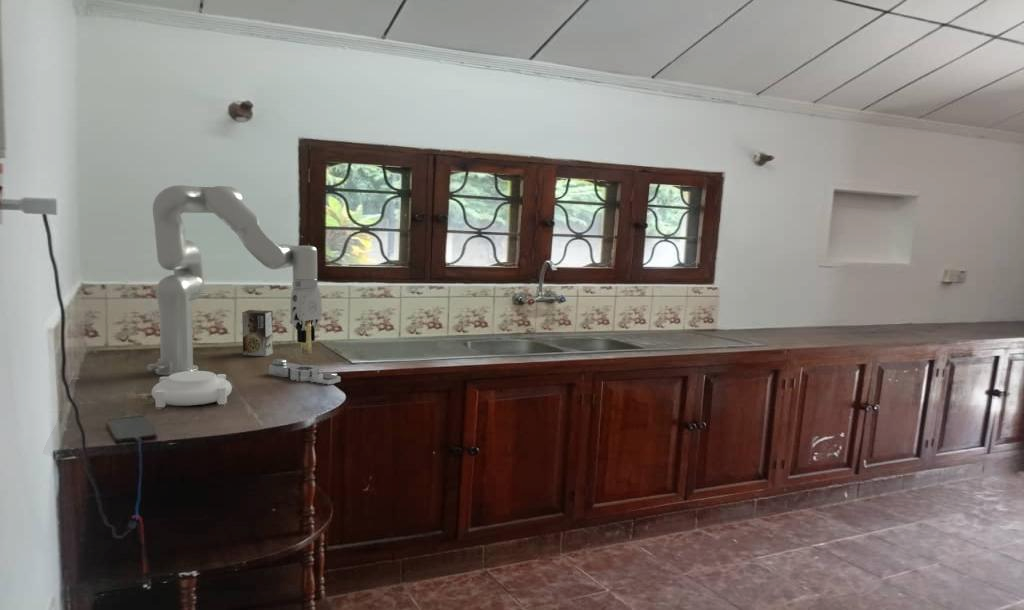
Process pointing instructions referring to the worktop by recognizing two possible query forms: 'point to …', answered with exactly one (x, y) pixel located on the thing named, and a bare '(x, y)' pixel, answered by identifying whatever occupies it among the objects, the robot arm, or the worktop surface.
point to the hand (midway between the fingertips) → (306, 340)
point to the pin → (307, 339)
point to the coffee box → (257, 332)
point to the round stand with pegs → (191, 389)
